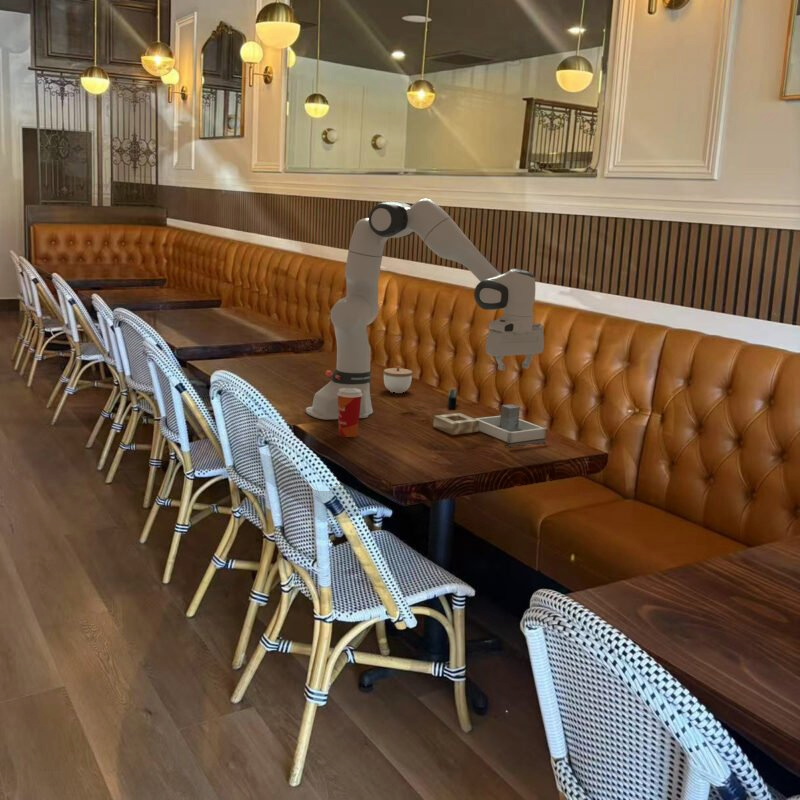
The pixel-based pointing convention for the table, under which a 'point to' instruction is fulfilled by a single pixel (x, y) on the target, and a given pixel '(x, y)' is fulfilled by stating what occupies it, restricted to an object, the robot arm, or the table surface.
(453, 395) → the mobile phone
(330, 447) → the table surface
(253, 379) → the table surface
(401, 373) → the lidded jar
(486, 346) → the robot arm
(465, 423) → the socket block
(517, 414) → the pin
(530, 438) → the grey tray
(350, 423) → the paper cup
